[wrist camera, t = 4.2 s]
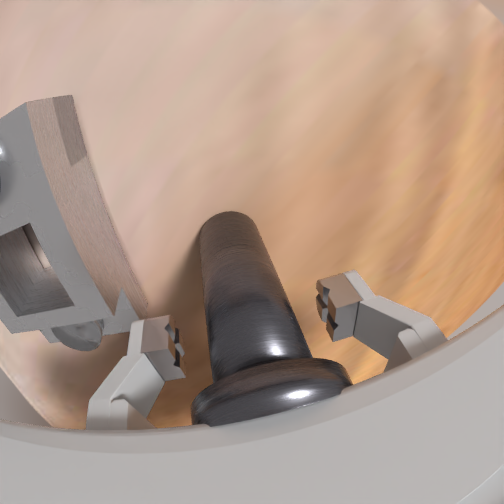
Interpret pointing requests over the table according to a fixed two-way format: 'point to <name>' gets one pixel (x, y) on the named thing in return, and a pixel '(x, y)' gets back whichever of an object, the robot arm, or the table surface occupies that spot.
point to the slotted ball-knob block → (59, 233)
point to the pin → (253, 332)
